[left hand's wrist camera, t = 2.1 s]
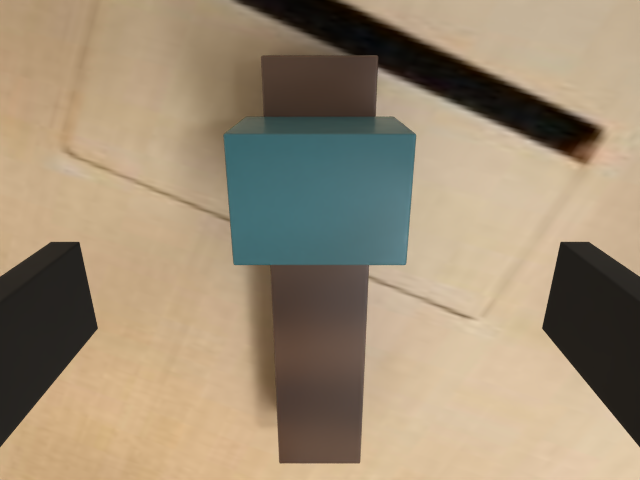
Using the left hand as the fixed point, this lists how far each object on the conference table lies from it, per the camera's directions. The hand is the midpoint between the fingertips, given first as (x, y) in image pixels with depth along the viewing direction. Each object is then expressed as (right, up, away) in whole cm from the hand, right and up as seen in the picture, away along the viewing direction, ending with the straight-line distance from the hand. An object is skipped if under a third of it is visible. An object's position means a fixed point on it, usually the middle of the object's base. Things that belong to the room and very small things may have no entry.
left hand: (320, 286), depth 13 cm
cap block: (0, +5, +13) cm, 14 cm away
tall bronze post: (0, 0, +20) cm, 20 cm away
